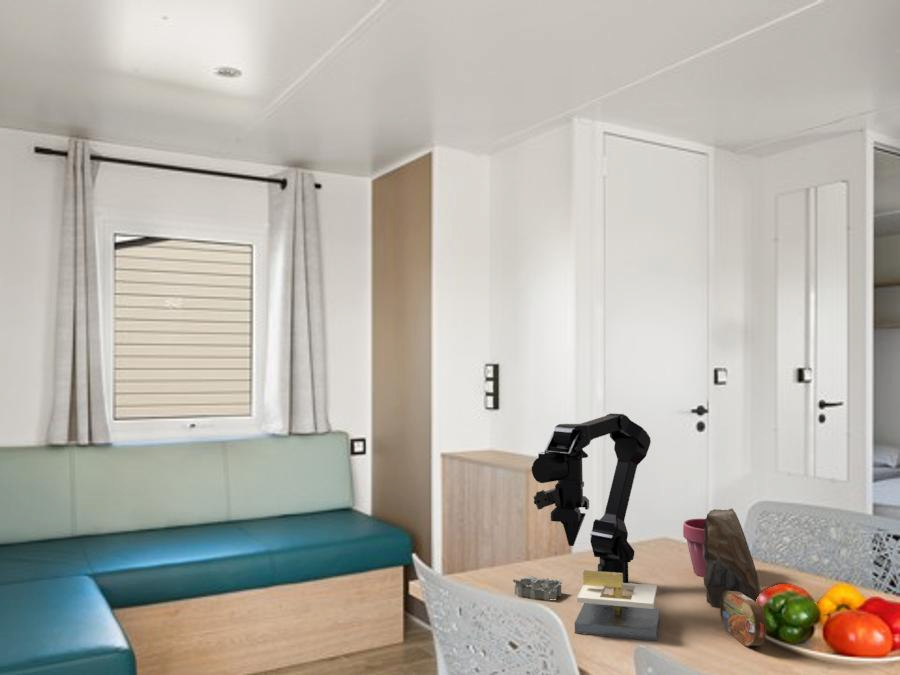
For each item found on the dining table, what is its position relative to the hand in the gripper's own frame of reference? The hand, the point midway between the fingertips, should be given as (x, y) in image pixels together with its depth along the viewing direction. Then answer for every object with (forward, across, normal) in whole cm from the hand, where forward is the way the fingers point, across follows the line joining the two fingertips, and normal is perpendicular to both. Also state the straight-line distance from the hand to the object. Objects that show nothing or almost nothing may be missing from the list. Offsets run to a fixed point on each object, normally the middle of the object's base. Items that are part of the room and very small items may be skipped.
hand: (571, 545), depth 180 cm
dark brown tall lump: (+12, -7, +36) cm, 38 cm away
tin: (+12, +17, +36) cm, 42 cm away
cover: (+6, +16, +12) cm, 21 cm away
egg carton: (+12, 0, -8) cm, 15 cm away
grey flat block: (+12, +16, +12) cm, 23 cm away
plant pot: (+12, -30, +31) cm, 45 cm away
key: (+10, +16, +11) cm, 22 cm away
